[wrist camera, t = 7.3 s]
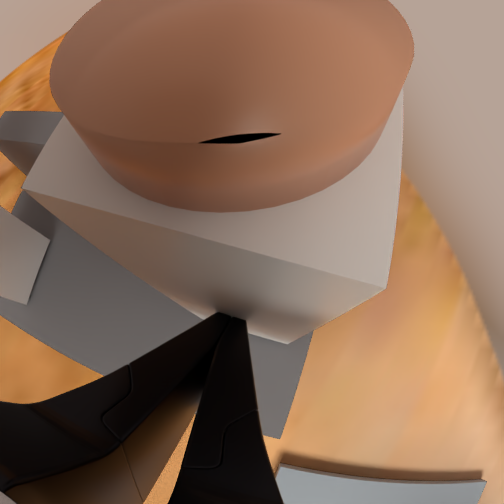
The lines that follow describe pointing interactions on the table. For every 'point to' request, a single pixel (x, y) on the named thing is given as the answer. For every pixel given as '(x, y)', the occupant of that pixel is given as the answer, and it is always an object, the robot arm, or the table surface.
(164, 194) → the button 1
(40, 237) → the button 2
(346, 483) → the pattern card
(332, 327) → the table surface
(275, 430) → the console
